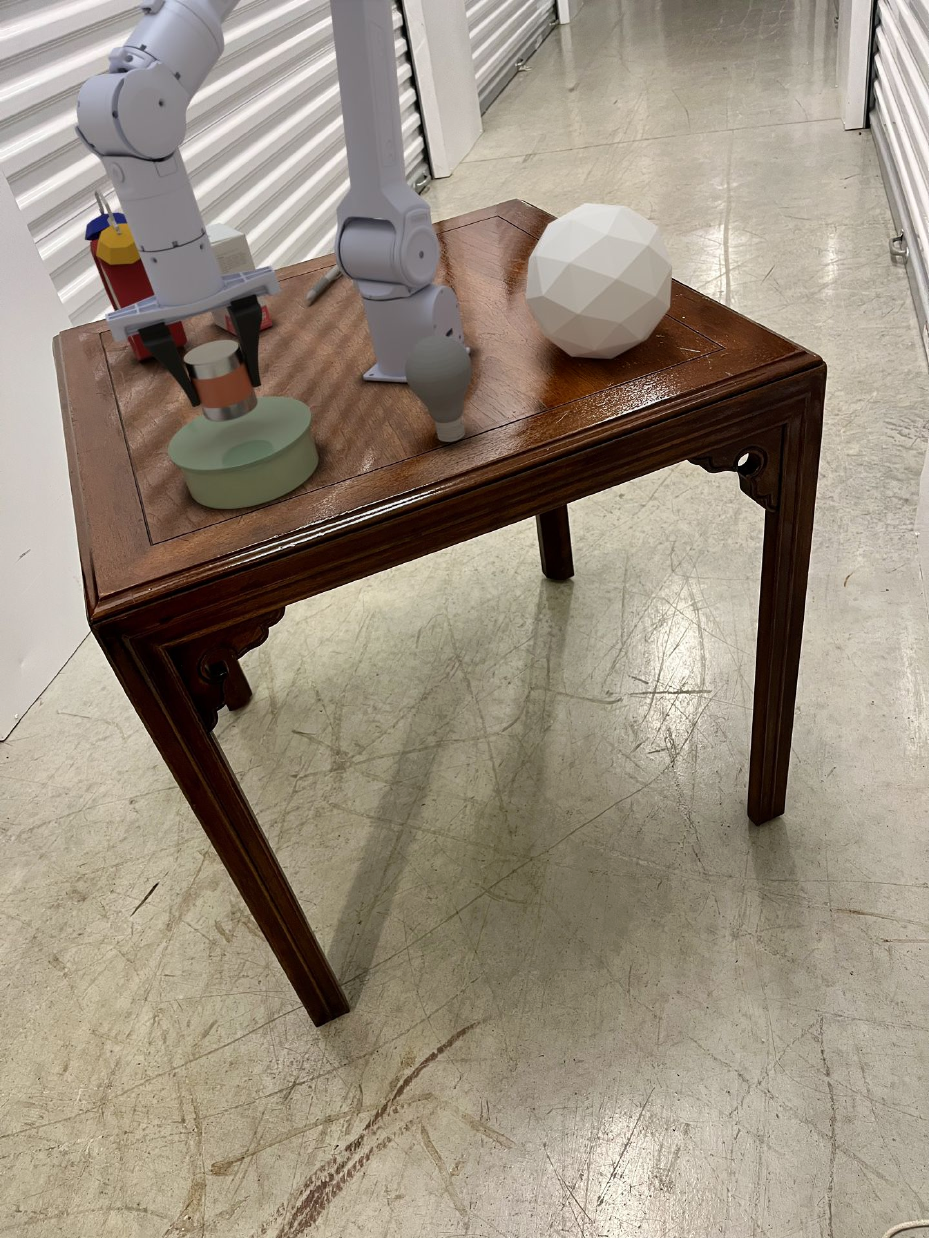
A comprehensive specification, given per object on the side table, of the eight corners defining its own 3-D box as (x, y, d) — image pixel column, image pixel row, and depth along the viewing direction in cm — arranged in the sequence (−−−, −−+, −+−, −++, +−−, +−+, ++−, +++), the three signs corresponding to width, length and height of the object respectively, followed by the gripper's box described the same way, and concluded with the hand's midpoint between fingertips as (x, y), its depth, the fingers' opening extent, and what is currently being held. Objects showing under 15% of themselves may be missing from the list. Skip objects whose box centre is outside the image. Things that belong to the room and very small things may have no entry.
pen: (350, 266, 133) (347, 256, 132) (312, 306, 123) (309, 295, 122) (343, 266, 133) (341, 256, 133) (305, 306, 123) (302, 296, 123)
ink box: (274, 326, 120) (246, 231, 113) (240, 340, 118) (208, 244, 111) (248, 311, 126) (218, 220, 119) (214, 324, 124) (182, 232, 117)
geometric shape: (618, 376, 104) (670, 239, 101) (655, 384, 90) (717, 224, 86) (497, 331, 102) (546, 189, 98) (516, 332, 88) (574, 165, 84)
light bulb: (408, 445, 89) (385, 345, 83) (453, 418, 92) (433, 319, 86) (451, 461, 86) (430, 358, 79) (496, 432, 88) (479, 330, 82)
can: (252, 390, 88) (233, 334, 85) (263, 410, 85) (244, 352, 81) (200, 407, 88) (178, 351, 84) (208, 428, 84) (187, 370, 80)
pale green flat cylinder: (350, 442, 92) (338, 400, 89) (271, 520, 83) (255, 476, 80) (240, 432, 98) (226, 392, 95) (156, 503, 89) (137, 462, 86)
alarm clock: (126, 344, 124) (60, 184, 111) (188, 323, 126) (131, 164, 114) (149, 380, 113) (78, 207, 100) (217, 356, 115) (157, 184, 103)
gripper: (248, 205, 81) (292, 353, 90) (80, 252, 78) (142, 401, 87) (264, 223, 76) (310, 379, 84) (85, 274, 73) (151, 430, 81)
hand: (226, 392), depth 85 cm, fingers closed on can, 5 cm apart
